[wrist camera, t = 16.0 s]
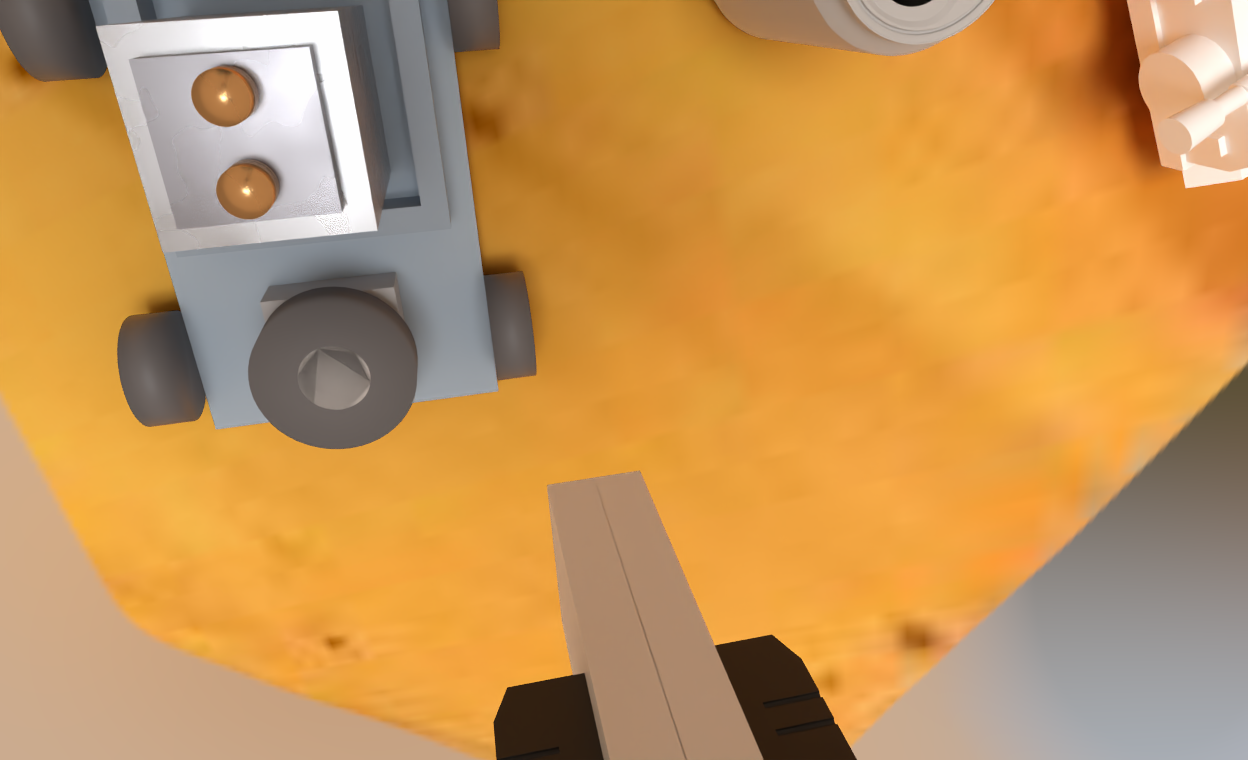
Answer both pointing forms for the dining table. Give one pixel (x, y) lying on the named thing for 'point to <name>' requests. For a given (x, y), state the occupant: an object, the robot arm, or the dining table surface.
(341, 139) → the twin lamp box
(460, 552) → the dining table surface
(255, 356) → the spare wheel
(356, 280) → the chassis
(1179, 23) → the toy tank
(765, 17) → the beverage can
